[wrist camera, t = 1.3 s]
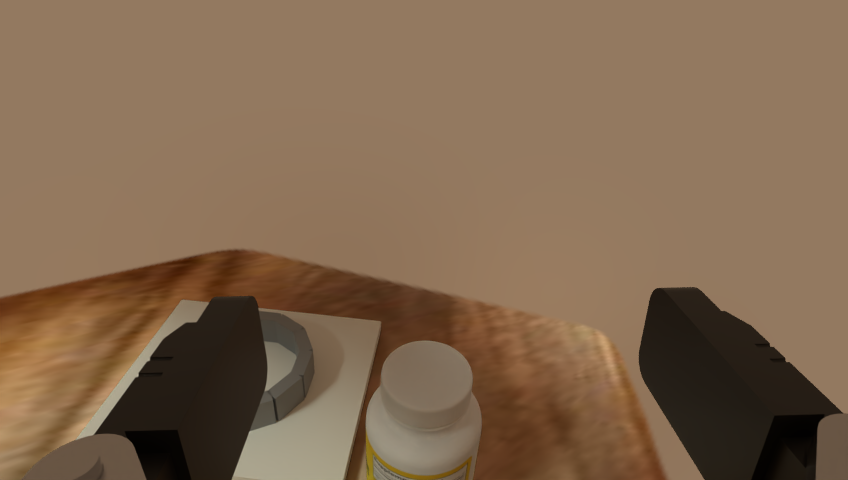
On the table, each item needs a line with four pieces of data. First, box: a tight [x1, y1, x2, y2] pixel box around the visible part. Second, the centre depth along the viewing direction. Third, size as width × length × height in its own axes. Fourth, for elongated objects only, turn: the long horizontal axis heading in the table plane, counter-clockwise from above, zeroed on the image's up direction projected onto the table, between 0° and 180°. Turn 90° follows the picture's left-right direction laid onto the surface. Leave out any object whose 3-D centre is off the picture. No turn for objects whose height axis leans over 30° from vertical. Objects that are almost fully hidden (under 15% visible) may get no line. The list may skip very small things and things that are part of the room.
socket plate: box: [76, 299, 381, 480], centre depth 32 cm, size 15×13×3 cm
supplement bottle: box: [366, 341, 482, 480], centre depth 25 cm, size 5×5×10 cm
